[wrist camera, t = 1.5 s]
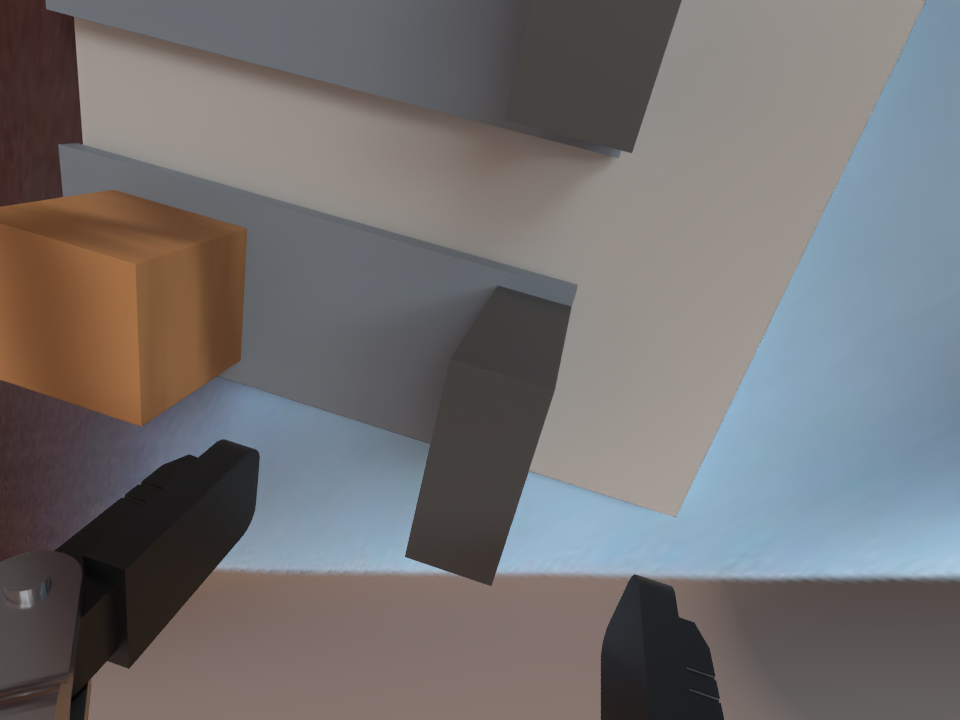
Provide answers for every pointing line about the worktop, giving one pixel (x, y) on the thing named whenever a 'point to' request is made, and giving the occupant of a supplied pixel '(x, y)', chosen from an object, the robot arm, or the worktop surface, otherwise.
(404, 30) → the strip empty
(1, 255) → the cube
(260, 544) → the worktop surface
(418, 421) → the strip with cube
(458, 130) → the lane board
